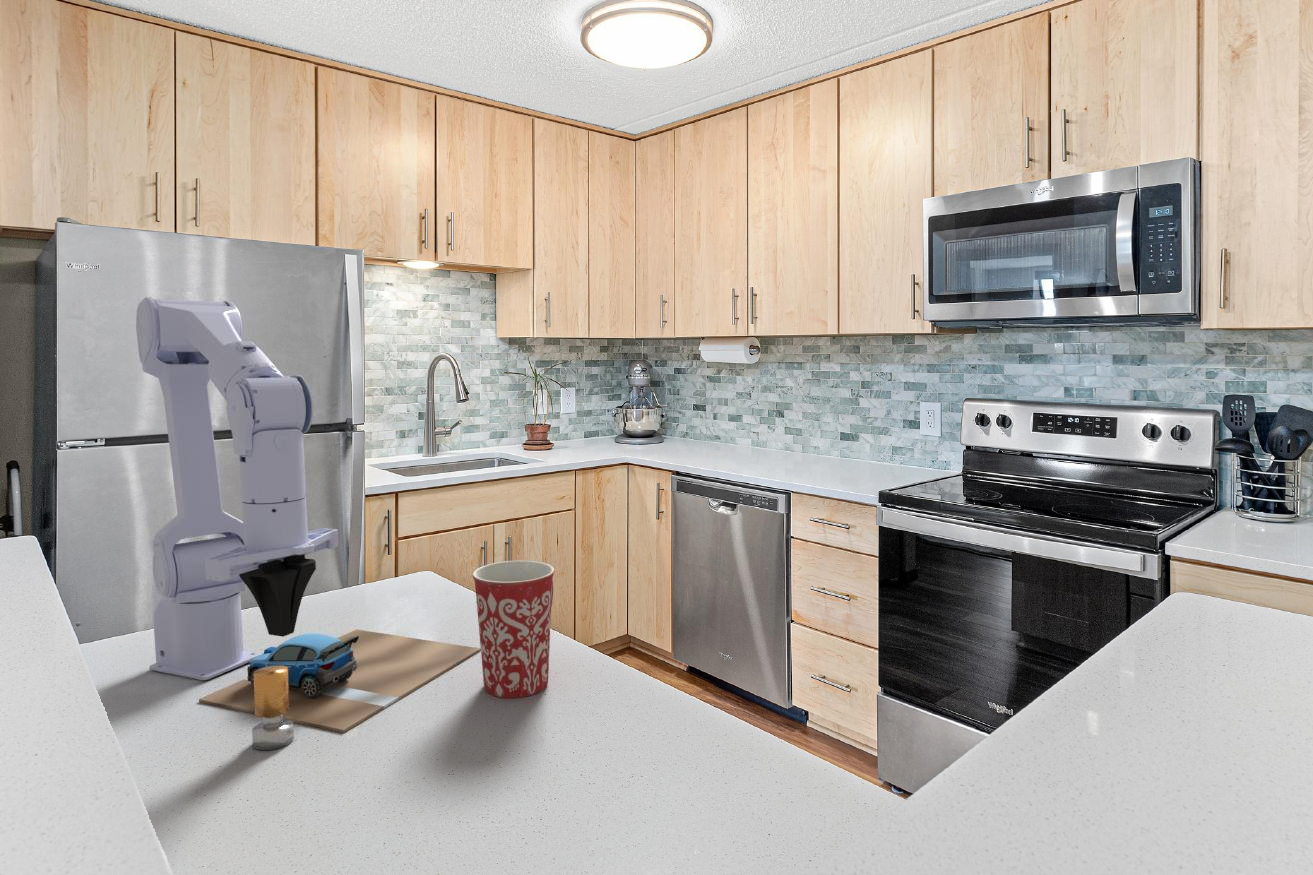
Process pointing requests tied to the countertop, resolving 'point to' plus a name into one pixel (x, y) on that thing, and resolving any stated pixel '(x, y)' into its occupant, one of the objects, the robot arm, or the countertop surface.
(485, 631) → the mug
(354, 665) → the toy car
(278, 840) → the countertop surface
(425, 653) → the board
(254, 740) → the coffee tamper
